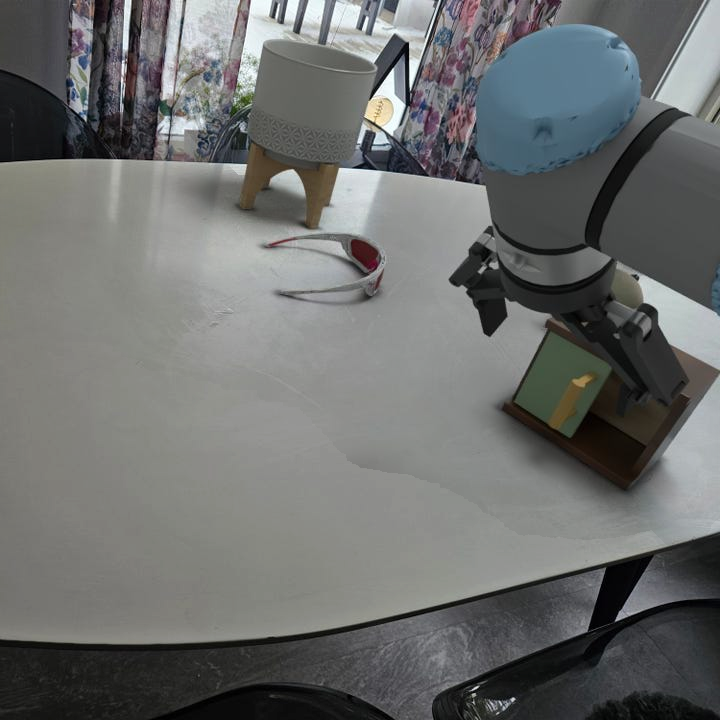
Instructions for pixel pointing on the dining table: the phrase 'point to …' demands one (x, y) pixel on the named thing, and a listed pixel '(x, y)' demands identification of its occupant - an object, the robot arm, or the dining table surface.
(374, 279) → the sunglasses
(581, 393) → the sliding door
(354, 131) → the planter
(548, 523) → the dining table surface
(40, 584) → the dining table surface
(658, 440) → the cupboard
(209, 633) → the dining table surface
